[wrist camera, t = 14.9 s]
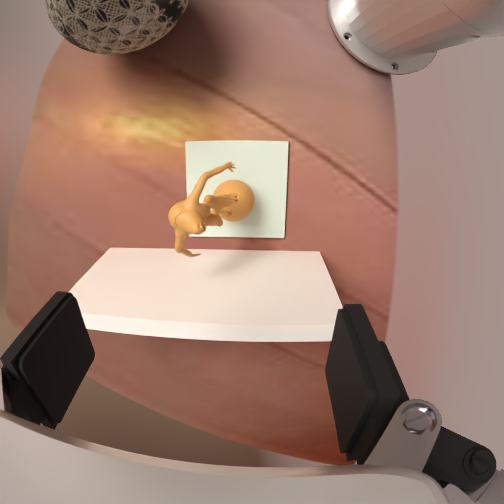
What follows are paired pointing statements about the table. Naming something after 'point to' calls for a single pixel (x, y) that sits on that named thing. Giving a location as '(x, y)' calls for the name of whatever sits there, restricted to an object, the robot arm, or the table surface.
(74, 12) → the decorative egg
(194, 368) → the table surface
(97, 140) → the table surface
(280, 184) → the mat
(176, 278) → the screen
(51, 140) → the table surface
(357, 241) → the table surface
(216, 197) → the figurine
